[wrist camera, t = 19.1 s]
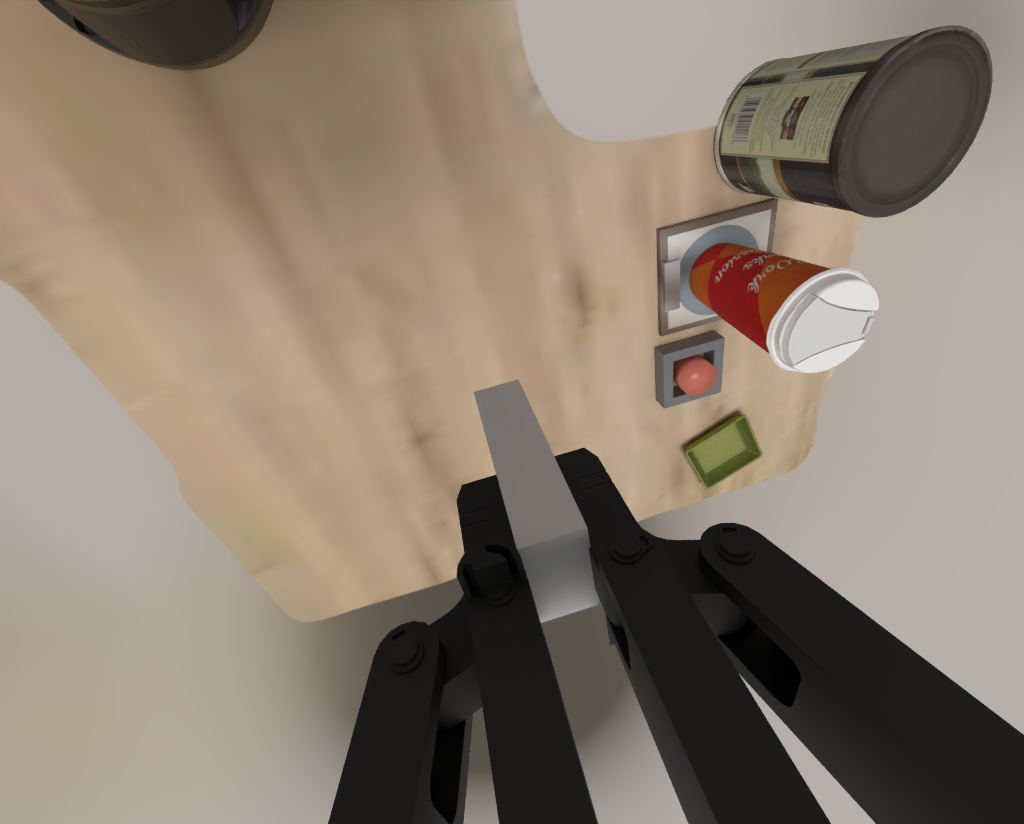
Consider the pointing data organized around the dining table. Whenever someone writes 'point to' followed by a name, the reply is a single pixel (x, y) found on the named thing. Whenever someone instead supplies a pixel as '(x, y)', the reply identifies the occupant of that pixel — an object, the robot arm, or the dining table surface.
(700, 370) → the button
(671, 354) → the button housing
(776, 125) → the coffee can
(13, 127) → the dining table surface
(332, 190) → the dining table surface
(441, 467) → the dining table surface
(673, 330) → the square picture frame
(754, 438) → the green rectangular tray
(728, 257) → the coffee cup
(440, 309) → the dining table surface
